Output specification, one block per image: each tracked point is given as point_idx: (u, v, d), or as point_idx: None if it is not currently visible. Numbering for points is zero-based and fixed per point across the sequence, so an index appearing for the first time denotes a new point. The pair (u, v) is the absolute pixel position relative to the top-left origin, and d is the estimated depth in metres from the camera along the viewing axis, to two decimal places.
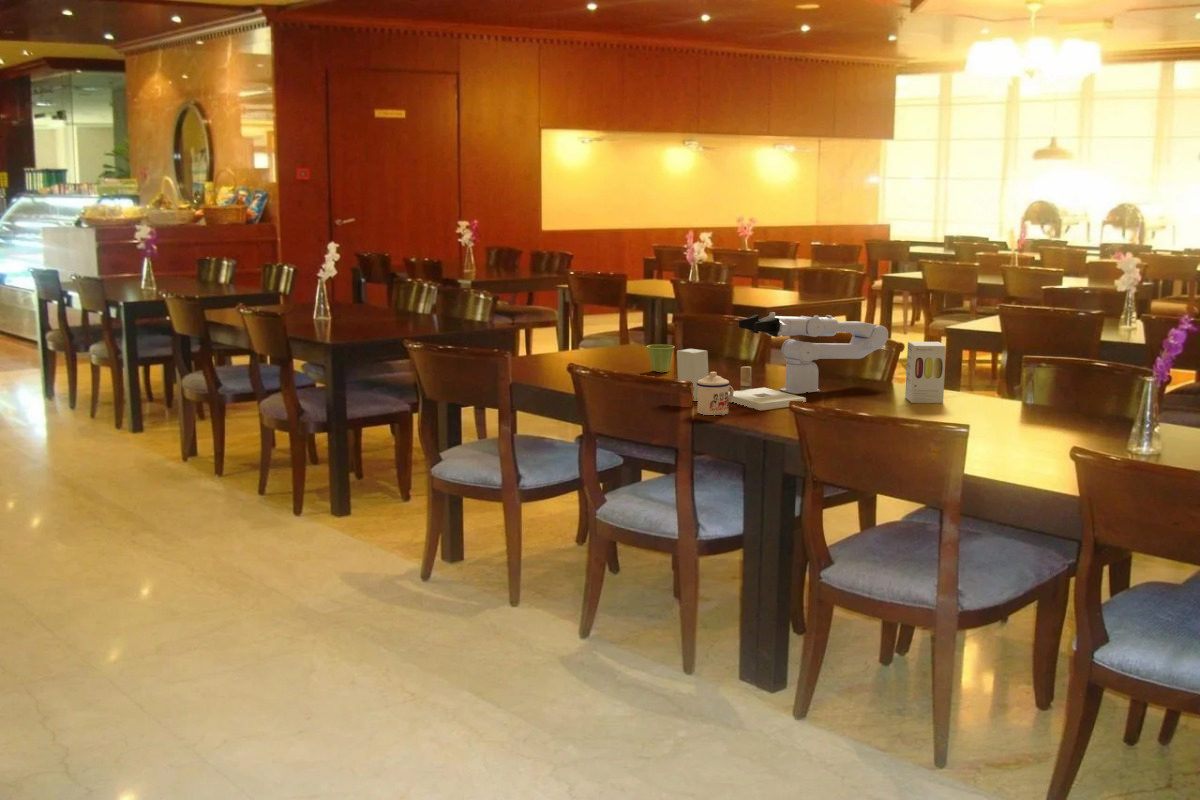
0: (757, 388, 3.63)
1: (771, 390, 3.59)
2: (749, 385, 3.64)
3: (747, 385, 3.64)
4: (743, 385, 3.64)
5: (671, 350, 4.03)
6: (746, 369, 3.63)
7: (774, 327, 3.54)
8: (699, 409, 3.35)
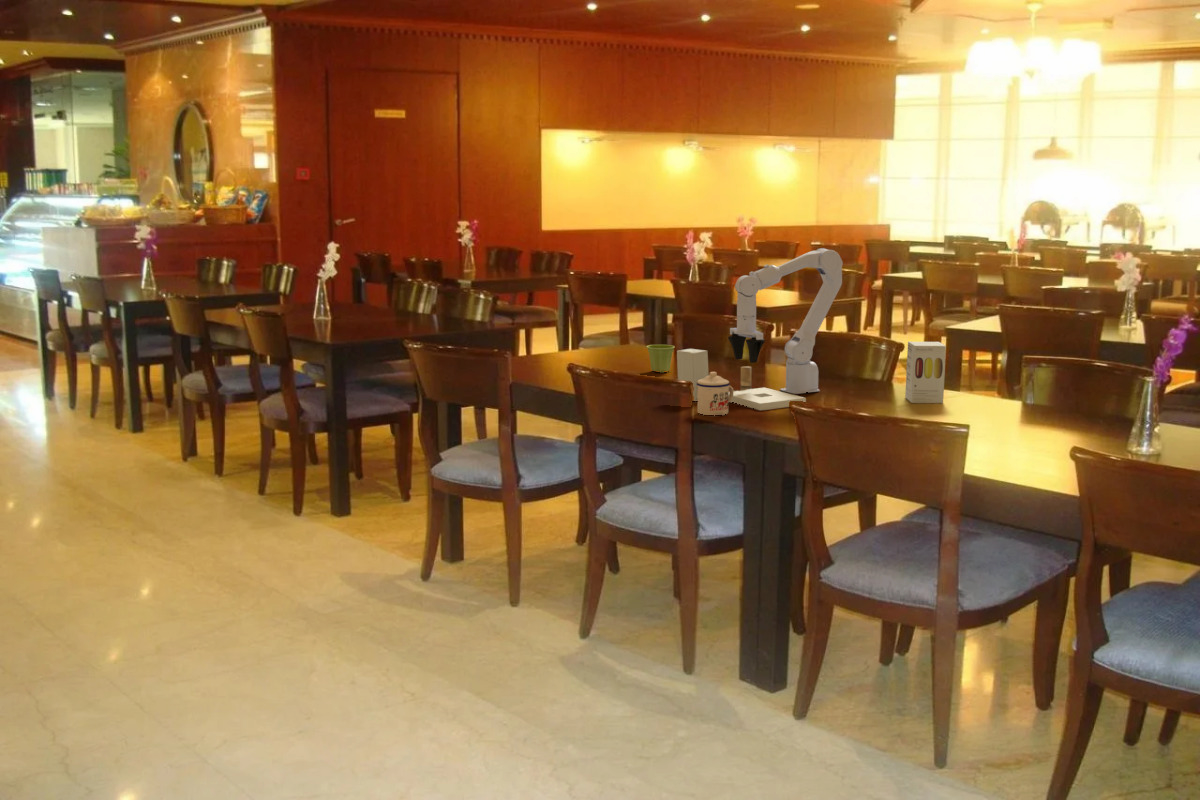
0: (757, 388, 3.63)
1: (771, 390, 3.59)
2: (749, 385, 3.64)
3: (747, 385, 3.64)
4: (743, 385, 3.64)
5: (671, 350, 4.03)
6: (746, 369, 3.63)
7: (755, 341, 3.59)
8: (699, 409, 3.35)
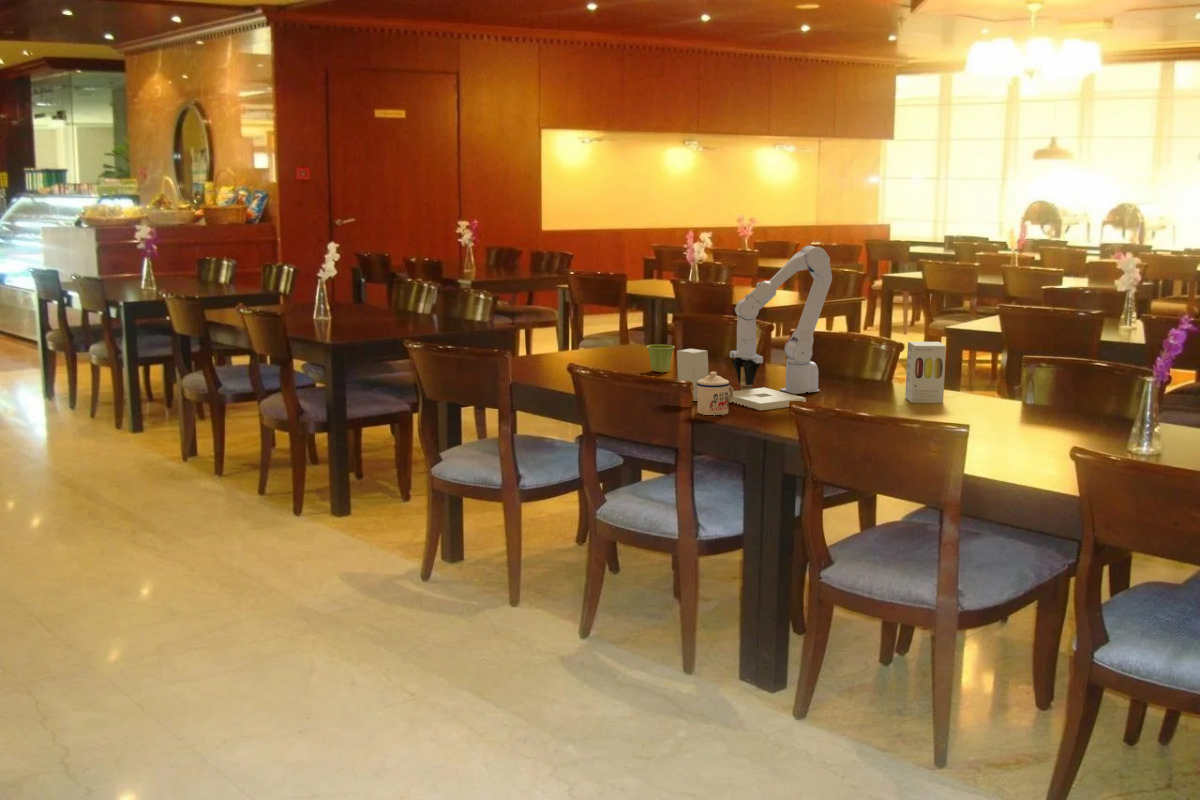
0: (757, 388, 3.63)
1: (771, 390, 3.59)
2: (749, 385, 3.64)
3: (747, 385, 3.64)
4: (743, 385, 3.64)
5: (671, 350, 4.03)
6: None
7: None
8: (699, 409, 3.35)
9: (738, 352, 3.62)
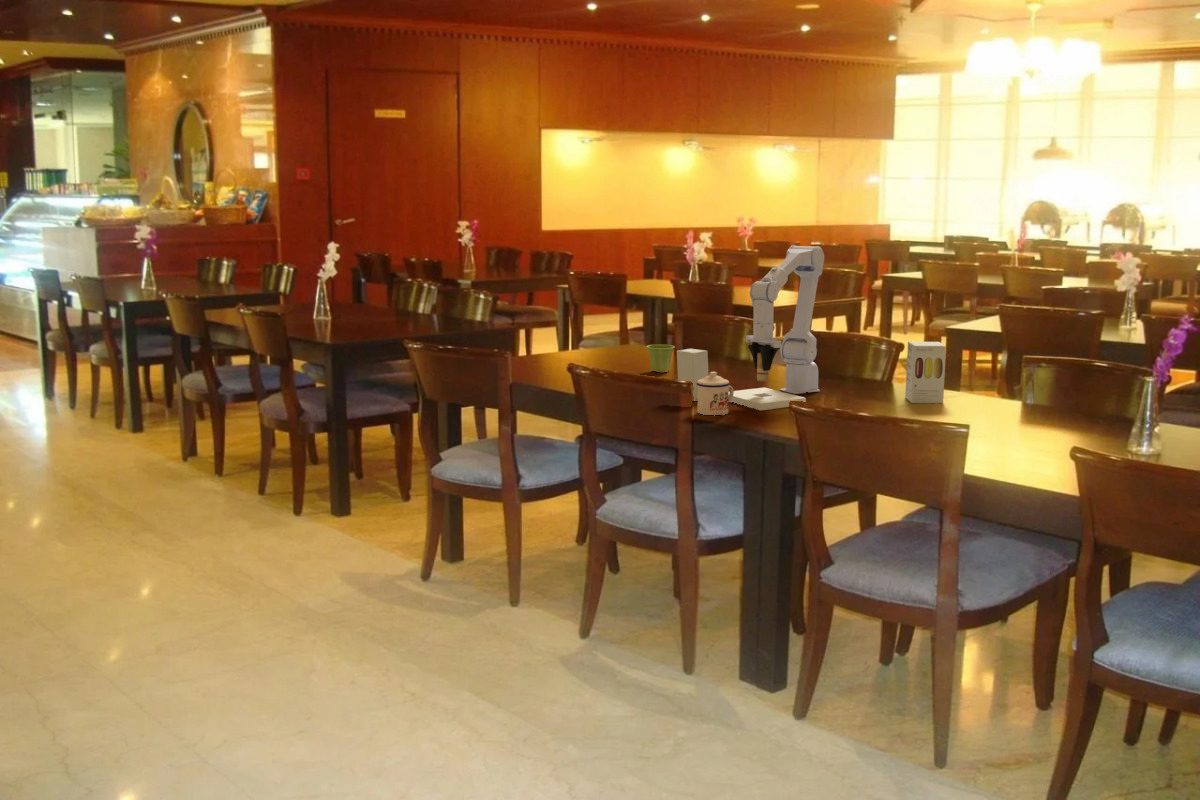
0: (757, 388, 3.63)
1: (771, 390, 3.59)
2: (766, 372, 3.49)
3: (764, 372, 3.49)
4: (760, 372, 3.49)
5: (671, 350, 4.03)
6: None
7: None
8: (699, 409, 3.35)
9: (755, 336, 3.47)
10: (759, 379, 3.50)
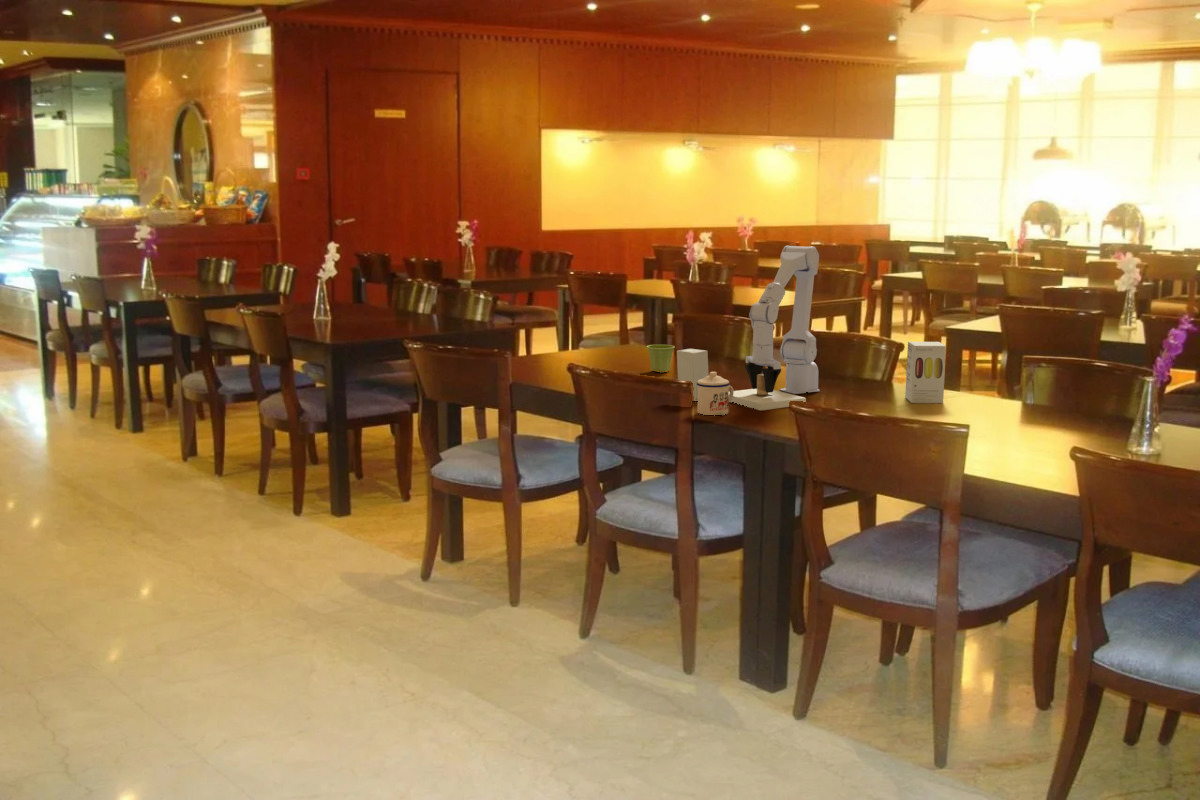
0: None
1: None
2: (766, 393, 3.50)
3: (764, 393, 3.50)
4: (760, 393, 3.50)
5: (671, 350, 4.03)
6: (763, 377, 3.49)
7: None
8: (699, 409, 3.35)
9: (755, 357, 3.48)
10: None
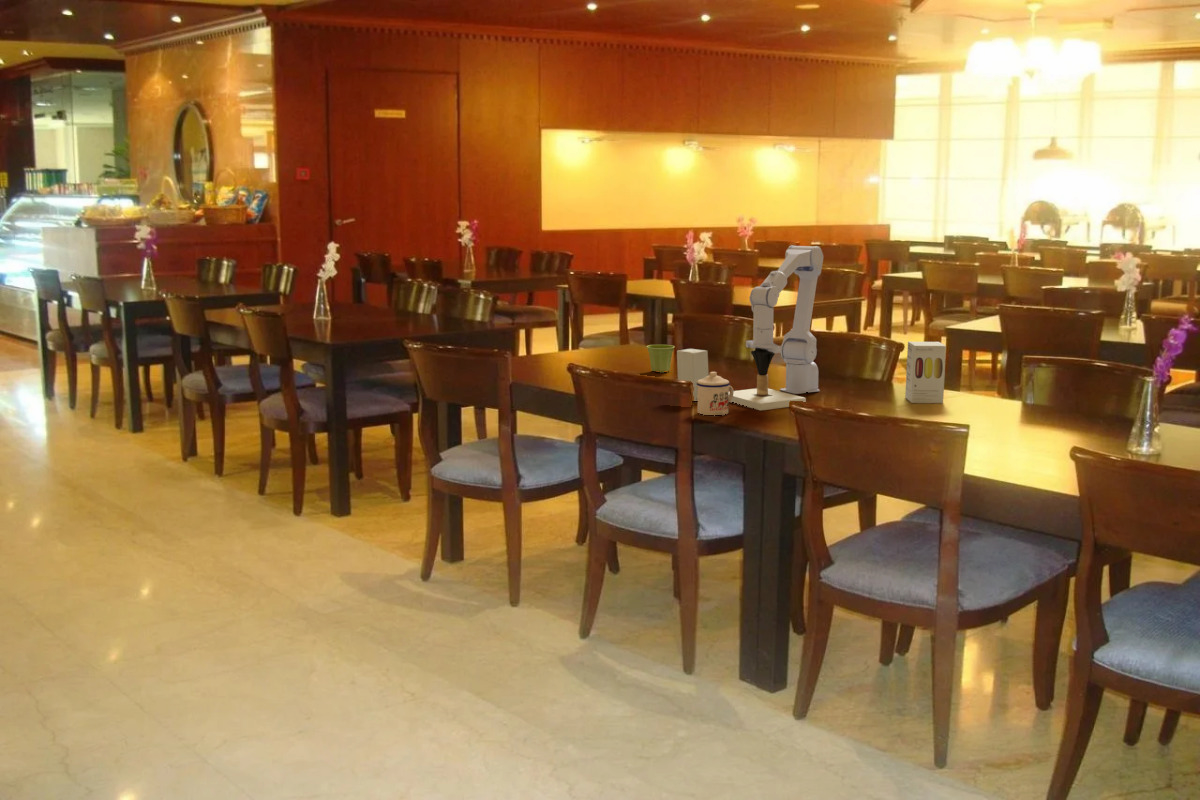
0: None
1: (771, 390, 3.59)
2: (766, 393, 3.50)
3: (764, 393, 3.50)
4: (760, 393, 3.50)
5: (671, 350, 4.03)
6: (763, 377, 3.49)
7: None
8: (699, 409, 3.35)
9: (755, 342, 3.47)
10: None
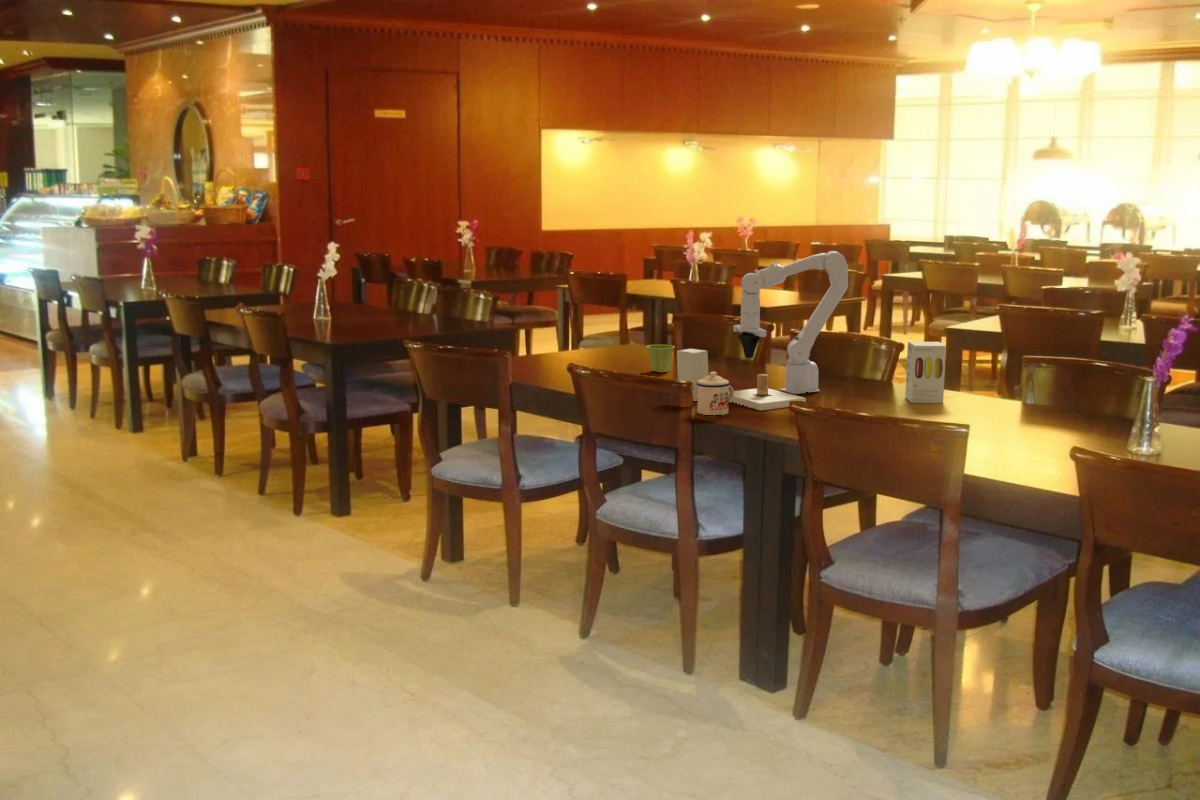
0: None
1: (771, 390, 3.59)
2: (766, 393, 3.50)
3: (764, 393, 3.50)
4: (760, 393, 3.50)
5: (671, 350, 4.03)
6: (763, 377, 3.49)
7: None
8: (699, 409, 3.35)
9: (742, 326, 3.64)
10: None
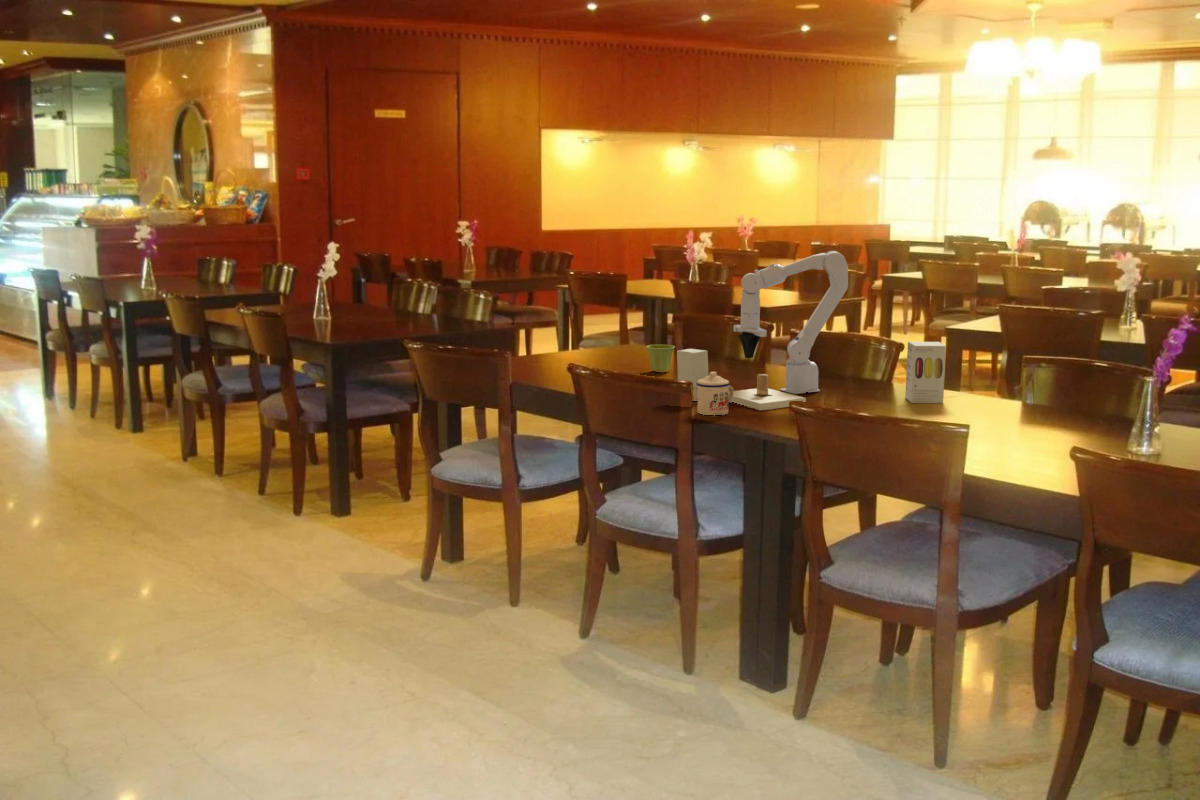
0: None
1: (771, 390, 3.59)
2: (766, 393, 3.50)
3: (764, 393, 3.50)
4: (760, 393, 3.50)
5: (671, 350, 4.03)
6: (763, 377, 3.49)
7: None
8: (699, 409, 3.35)
9: (742, 326, 3.64)
10: None
